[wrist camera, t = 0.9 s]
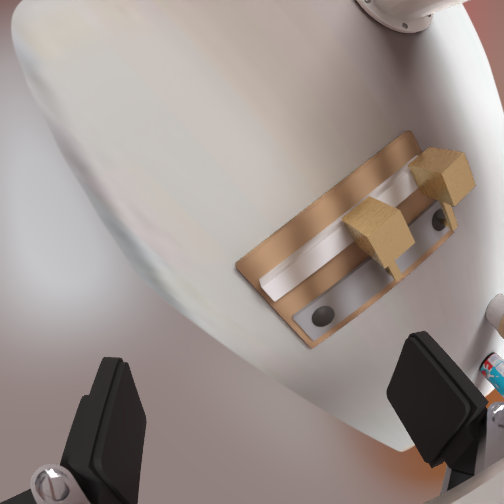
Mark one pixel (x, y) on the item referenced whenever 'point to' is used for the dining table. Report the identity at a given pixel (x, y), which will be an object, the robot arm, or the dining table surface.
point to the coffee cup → (496, 313)
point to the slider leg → (380, 233)
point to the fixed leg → (443, 179)
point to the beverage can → (494, 371)
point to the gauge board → (323, 219)
